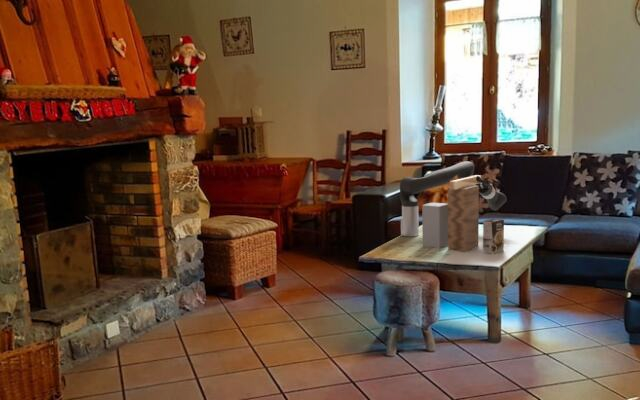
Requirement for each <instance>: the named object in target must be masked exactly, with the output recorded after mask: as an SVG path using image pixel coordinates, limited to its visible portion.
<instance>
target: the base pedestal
mask: <svg viewBox="0 0 640 400" xmlns="http://www.w3.org/2000/svg"><path fill="white" fill-rule="evenodd" d="M421 213H422V214H421V215H422V220H421V222H422V223H421V224H422V247H427V248H433V247H434V248H435V249H441V247H442V248H444V247H446V246H447V247H448V203H441V202H429V203H426V204H422V212H421Z"/></svg>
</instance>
